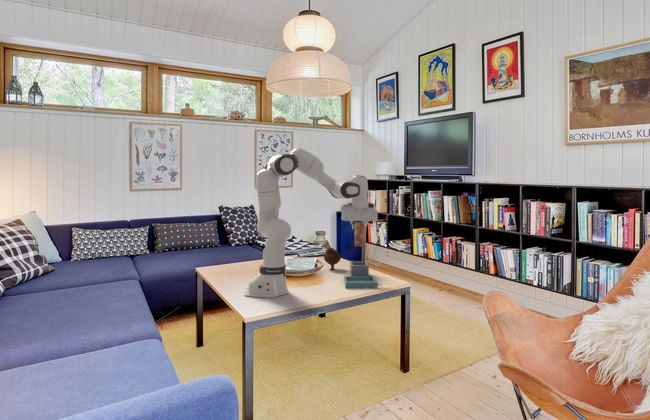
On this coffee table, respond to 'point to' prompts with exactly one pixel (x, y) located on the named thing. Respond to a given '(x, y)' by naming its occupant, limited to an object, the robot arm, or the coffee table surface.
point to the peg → (359, 234)
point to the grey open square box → (359, 269)
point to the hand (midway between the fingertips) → (359, 228)
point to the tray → (360, 282)
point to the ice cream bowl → (332, 257)
